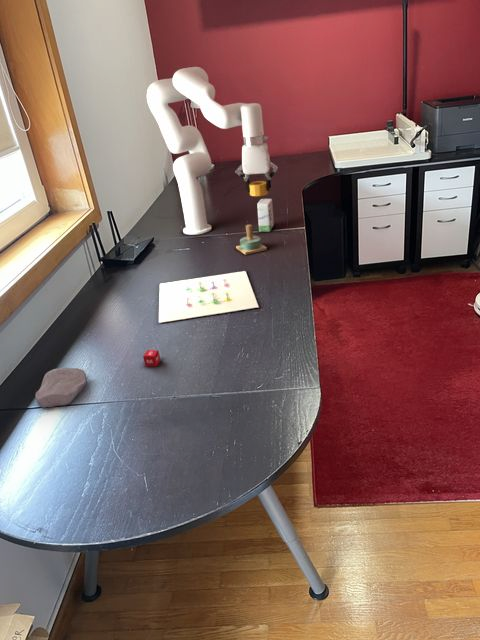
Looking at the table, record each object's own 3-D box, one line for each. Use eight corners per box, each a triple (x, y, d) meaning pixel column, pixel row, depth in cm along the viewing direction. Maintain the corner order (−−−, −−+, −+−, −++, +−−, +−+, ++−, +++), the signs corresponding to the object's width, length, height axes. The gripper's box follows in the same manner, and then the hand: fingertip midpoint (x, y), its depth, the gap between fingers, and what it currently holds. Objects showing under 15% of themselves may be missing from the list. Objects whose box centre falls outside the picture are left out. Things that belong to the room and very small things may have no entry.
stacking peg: (236, 248, 199) (233, 225, 194) (256, 243, 202) (254, 220, 197) (245, 255, 192) (242, 230, 187) (266, 249, 195) (264, 225, 190)
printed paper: (258, 308, 152) (258, 303, 151) (158, 323, 149) (157, 319, 148) (245, 271, 178) (245, 267, 177) (160, 284, 175) (159, 280, 174)
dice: (156, 366, 129) (154, 356, 127) (145, 366, 129) (142, 356, 128) (160, 360, 131) (158, 350, 130) (149, 359, 132) (147, 350, 130)
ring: (249, 196, 192) (247, 186, 190) (251, 192, 198) (250, 181, 196) (266, 195, 191) (265, 184, 189) (268, 191, 197) (267, 180, 195)
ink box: (262, 225, 222) (260, 198, 215) (274, 225, 220) (272, 197, 214) (258, 232, 214) (256, 204, 208) (270, 231, 213) (268, 203, 207)
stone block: (90, 382, 128) (49, 380, 127) (89, 366, 126) (47, 364, 125) (79, 412, 118) (35, 410, 117) (78, 396, 116) (32, 394, 115)
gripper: (278, 137, 187) (282, 186, 196) (232, 141, 189) (238, 189, 198) (276, 141, 180) (280, 191, 189) (228, 144, 183) (234, 194, 192)
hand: (258, 190), depth 194 cm, fingers closed on ring, 6 cm apart
